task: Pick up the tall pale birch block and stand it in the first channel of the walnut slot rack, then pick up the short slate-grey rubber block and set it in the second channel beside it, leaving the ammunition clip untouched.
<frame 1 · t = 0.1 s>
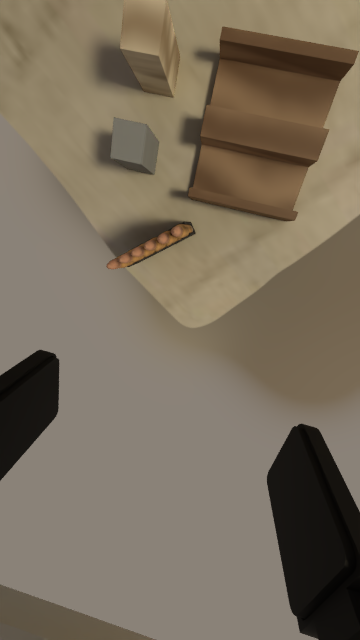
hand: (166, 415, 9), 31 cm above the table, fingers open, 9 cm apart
slot rack: (257, 144, 31), on the table
ammunition clip: (163, 243, 38), on the table
birch block: (161, 74, 30), on the table
rubber block: (143, 155, 33), on the table
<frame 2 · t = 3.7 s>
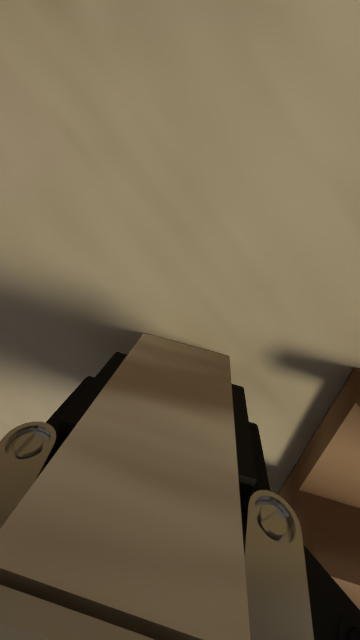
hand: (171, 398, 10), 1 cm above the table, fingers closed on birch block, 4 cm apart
birch block: (176, 380, 11), on the table, touching gripper
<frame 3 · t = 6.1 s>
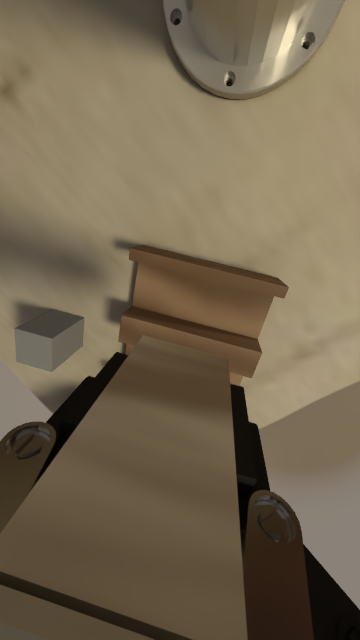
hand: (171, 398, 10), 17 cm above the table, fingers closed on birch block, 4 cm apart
slot rack: (191, 330, 27), on the table
birch block: (176, 381, 11), point 15 cm above the table, touching gripper
rubber block: (68, 327, 30), on the table
when the fingers open (3 cm above the table, at t = 8.7 s): birch block stays where it is, resting on slot rack.
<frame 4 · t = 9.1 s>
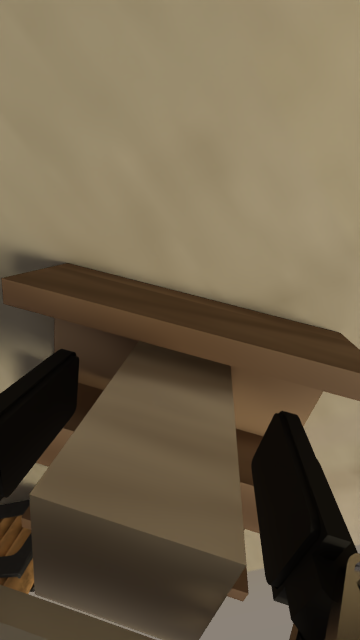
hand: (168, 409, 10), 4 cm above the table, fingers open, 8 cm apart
slot rack: (167, 415, 15), on the table
ammunition clip: (31, 505, 21), on the table
birch block: (180, 370, 12), point 1 cm above the table, touching slot rack
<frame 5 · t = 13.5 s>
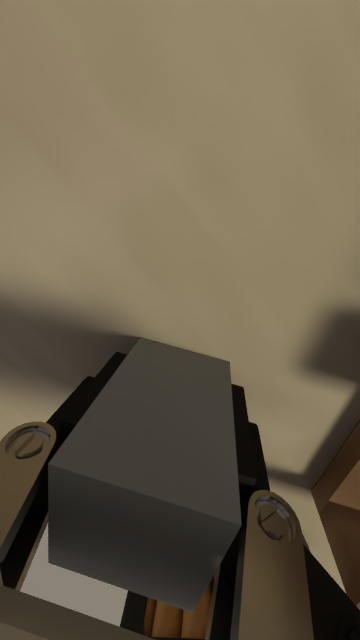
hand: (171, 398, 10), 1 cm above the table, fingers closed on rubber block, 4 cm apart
ammunition clip: (216, 540, 15), on the table
rubber block: (174, 386, 11), on the table, touching gripper
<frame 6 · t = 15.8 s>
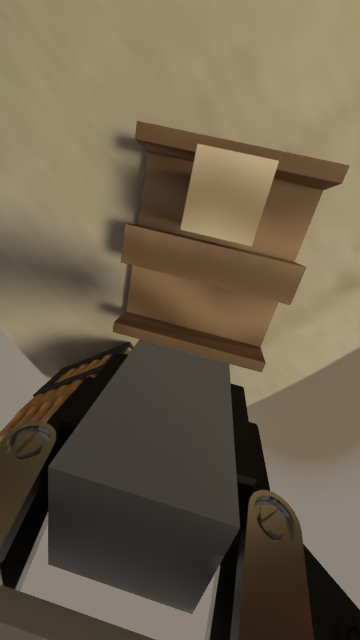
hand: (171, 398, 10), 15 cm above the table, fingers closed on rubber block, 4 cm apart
slot rack: (210, 258, 22), on the table
ammunition clip: (98, 361, 29), on the table
birch block: (223, 209, 19), point 1 cm above the table, touching slot rack
rubber block: (174, 387, 11), point 14 cm above the table, touching gripper
when the fingers open (3 cm above the table, at t = 18.2 s): rubber block stays where it is, resting on slot rack.
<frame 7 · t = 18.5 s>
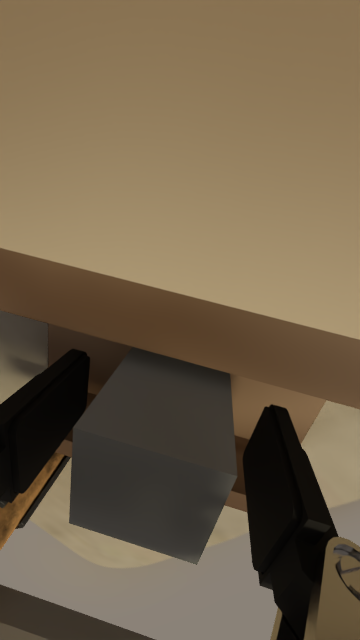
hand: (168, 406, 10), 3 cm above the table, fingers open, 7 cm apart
slot rack: (200, 289, 11), on the table
ammunition clip: (22, 445, 18), on the table
birch block: (228, 186, 9), point 1 cm above the table, touching slot rack
rubber block: (178, 374, 12), point 1 cm above the table, touching slot rack
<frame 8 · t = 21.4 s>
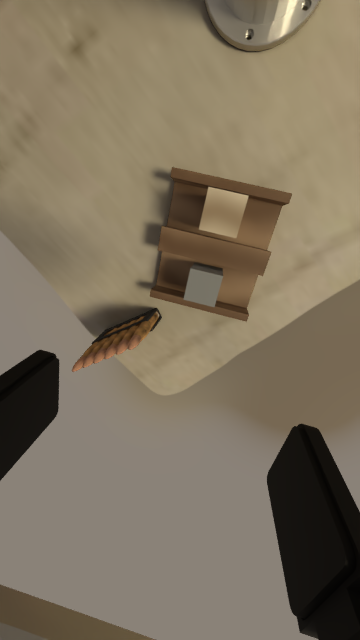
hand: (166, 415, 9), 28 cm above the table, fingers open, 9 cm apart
slot rack: (213, 248, 34), on the table
ammunition clip: (133, 323, 40), on the table
birch block: (222, 216, 31), point 1 cm above the table, touching slot rack
rubber block: (205, 278, 34), point 1 cm above the table, touching slot rack
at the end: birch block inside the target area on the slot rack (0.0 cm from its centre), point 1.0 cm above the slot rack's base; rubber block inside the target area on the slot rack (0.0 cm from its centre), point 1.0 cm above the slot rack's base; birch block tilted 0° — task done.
